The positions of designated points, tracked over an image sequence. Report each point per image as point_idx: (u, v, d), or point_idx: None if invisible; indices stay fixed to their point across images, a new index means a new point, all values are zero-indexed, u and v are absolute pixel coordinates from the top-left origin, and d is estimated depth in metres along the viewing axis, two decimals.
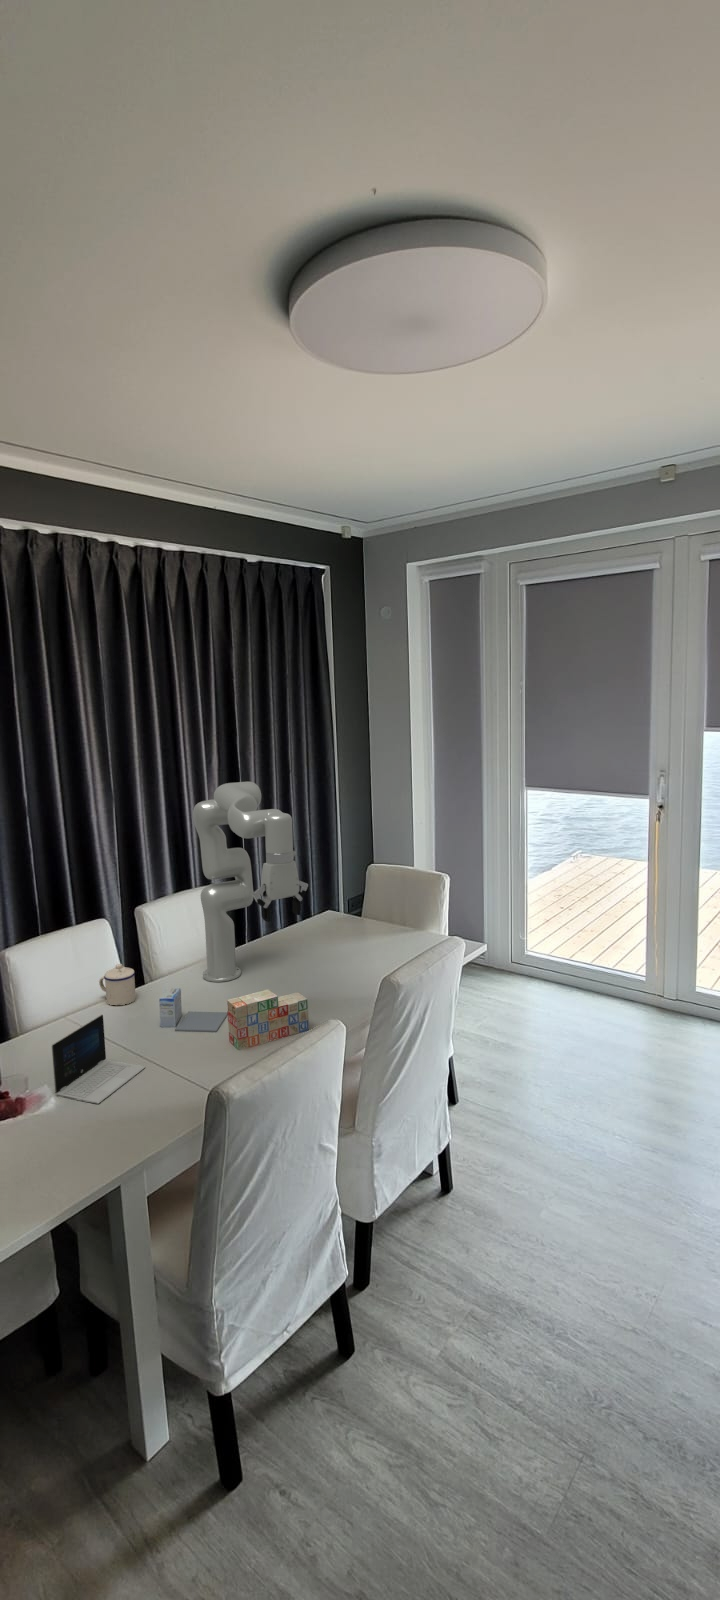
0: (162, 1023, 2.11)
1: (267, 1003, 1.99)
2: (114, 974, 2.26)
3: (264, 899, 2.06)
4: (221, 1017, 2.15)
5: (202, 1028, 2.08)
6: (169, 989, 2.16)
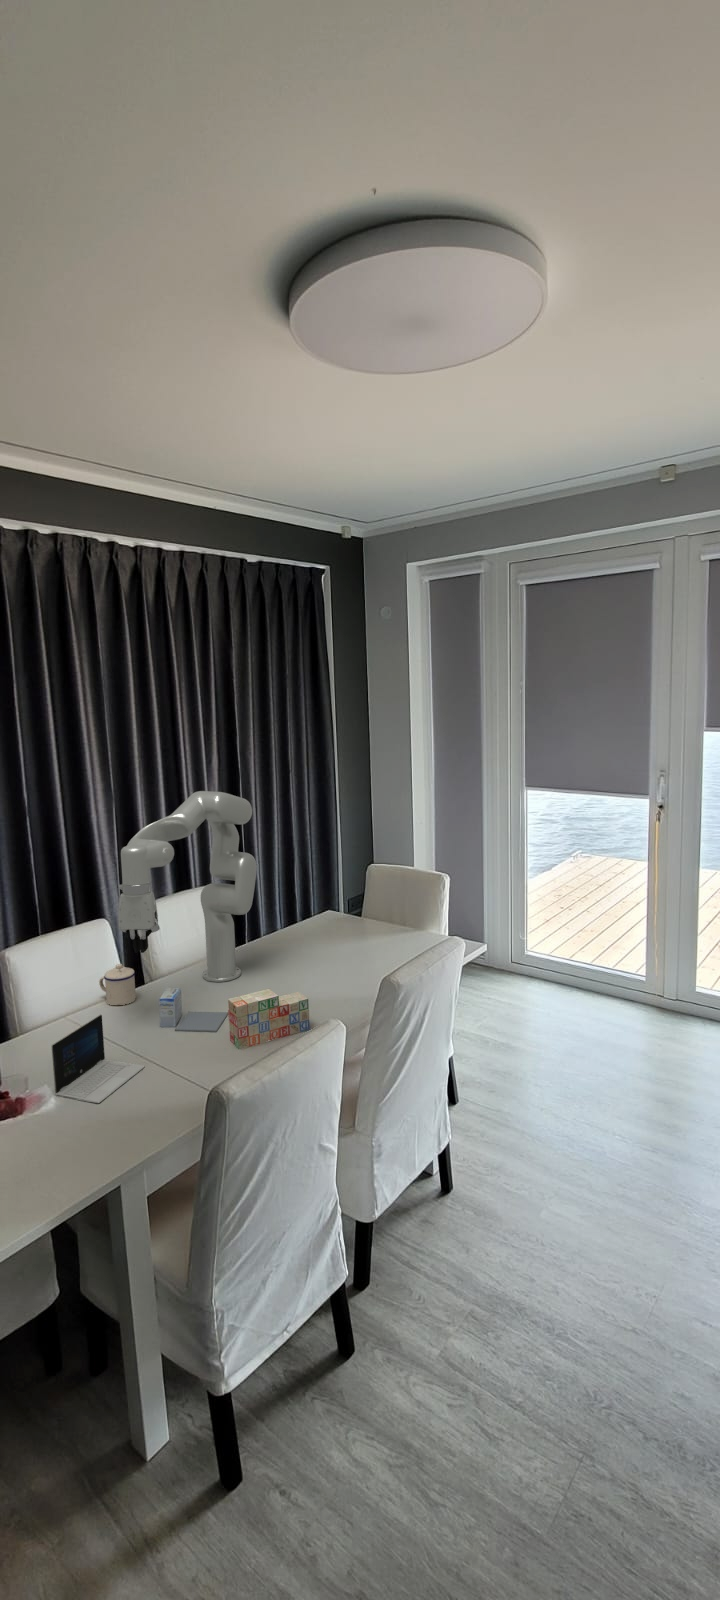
0: (162, 1023, 2.11)
1: (267, 1002, 2.00)
2: (114, 974, 2.26)
3: None
4: (221, 1017, 2.15)
5: (202, 1028, 2.08)
6: (169, 989, 2.16)
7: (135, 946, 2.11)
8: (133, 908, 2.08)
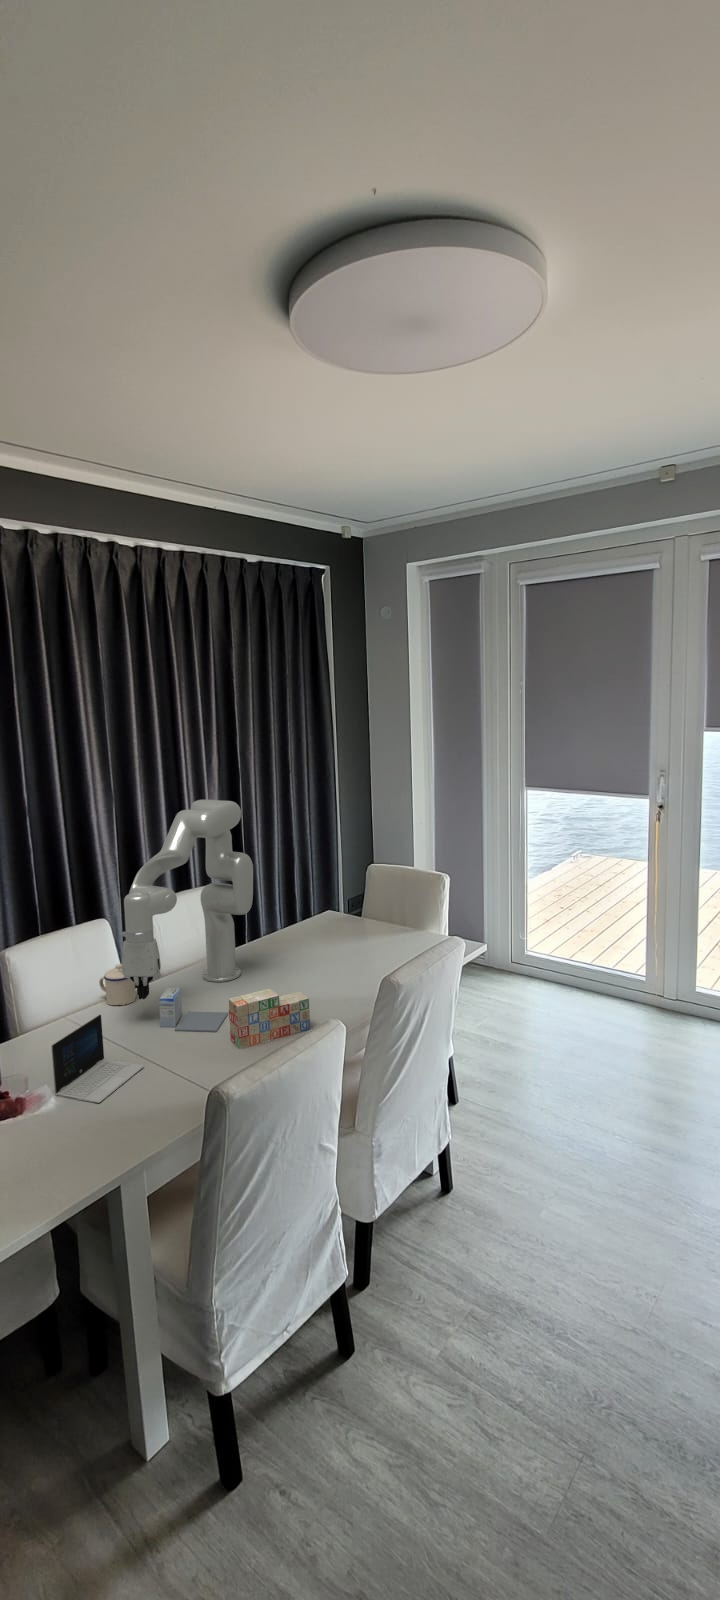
0: (162, 1023, 2.11)
1: (268, 1002, 2.00)
2: (114, 974, 2.26)
3: None
4: (221, 1017, 2.15)
5: (202, 1028, 2.08)
6: (169, 989, 2.16)
7: (139, 992, 2.12)
8: (136, 956, 2.10)
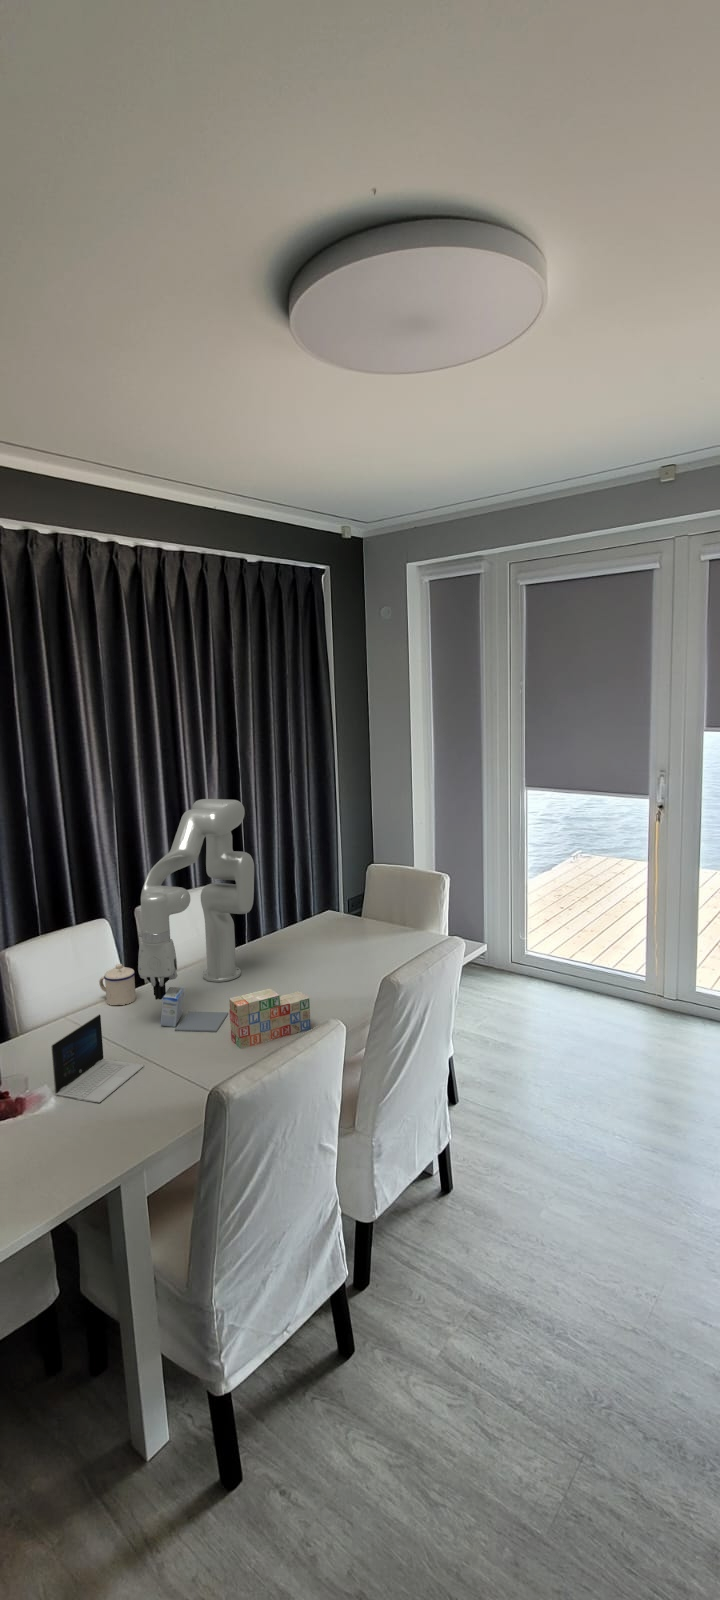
0: (163, 1021, 2.11)
1: (269, 1002, 2.00)
2: (114, 974, 2.26)
3: None
4: (221, 1017, 2.15)
5: (202, 1028, 2.08)
6: (173, 988, 2.16)
7: (156, 993, 2.12)
8: (153, 956, 2.09)
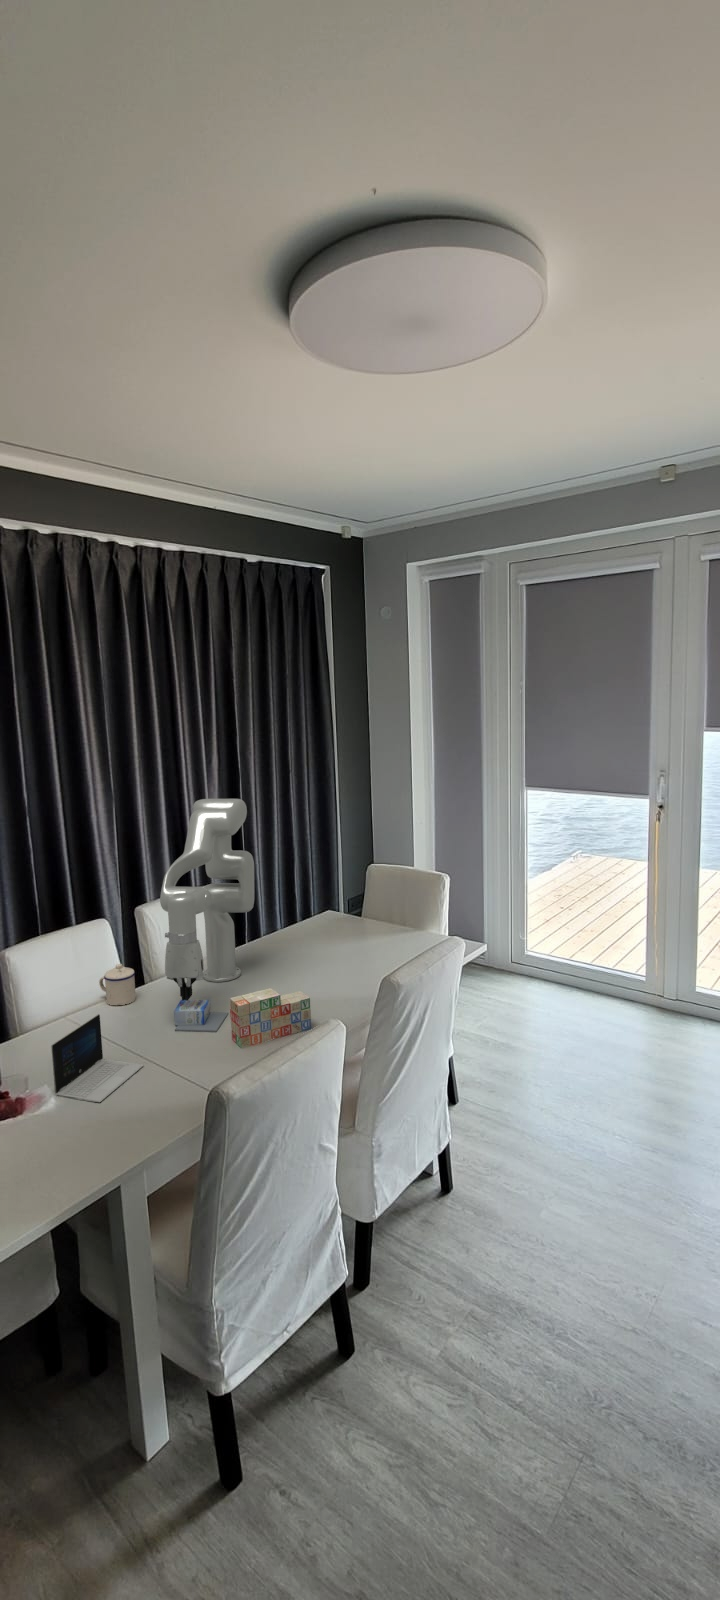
0: (178, 1012, 2.10)
1: (269, 1001, 2.00)
2: (114, 974, 2.26)
3: None
4: (221, 1017, 2.15)
5: (202, 1028, 2.08)
6: (209, 1005, 2.17)
7: (183, 994, 2.11)
8: (180, 957, 2.08)
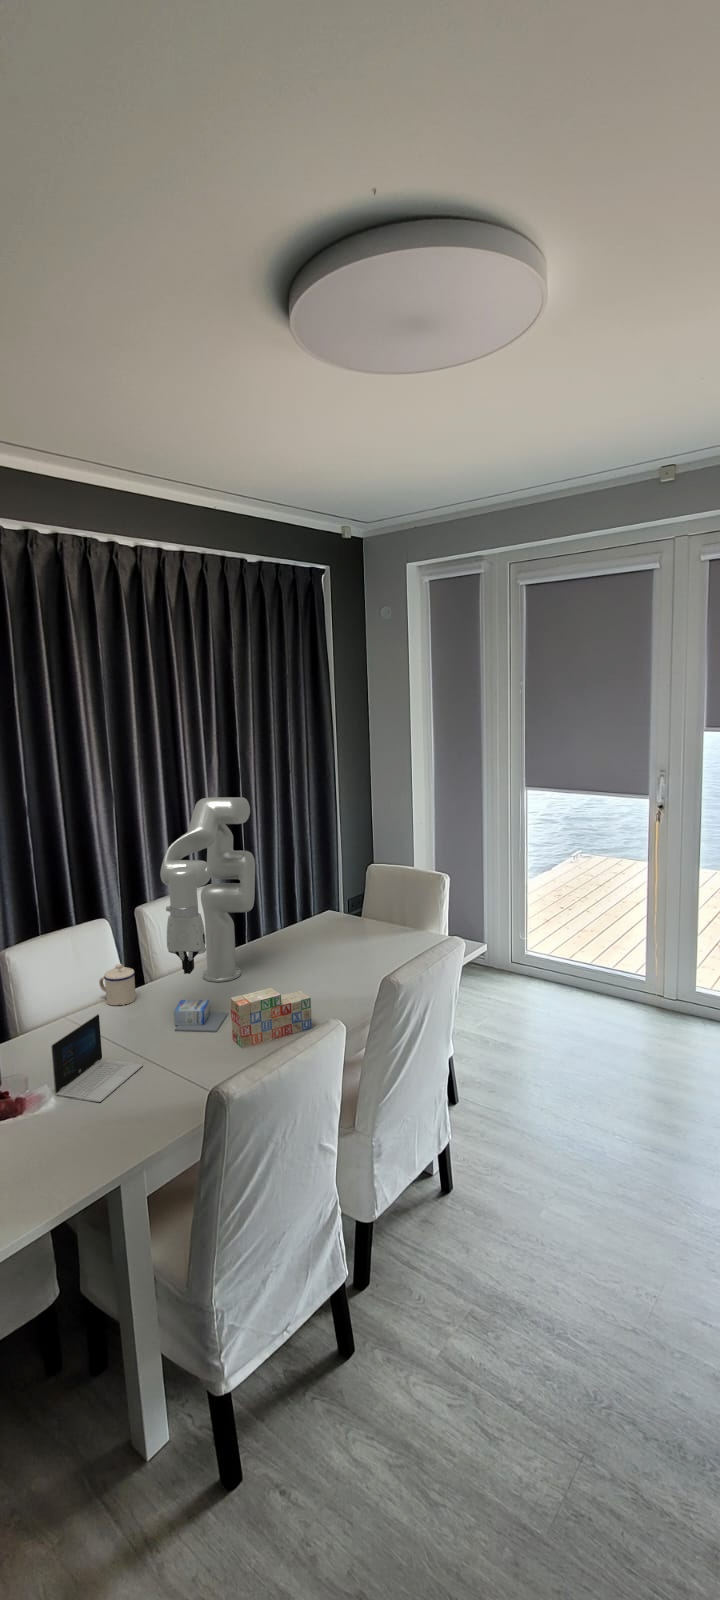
0: (178, 1012, 2.10)
1: (270, 1001, 2.01)
2: (114, 974, 2.26)
3: None
4: (221, 1017, 2.15)
5: (202, 1028, 2.08)
6: (209, 1005, 2.17)
7: (185, 967, 2.11)
8: (181, 930, 2.08)
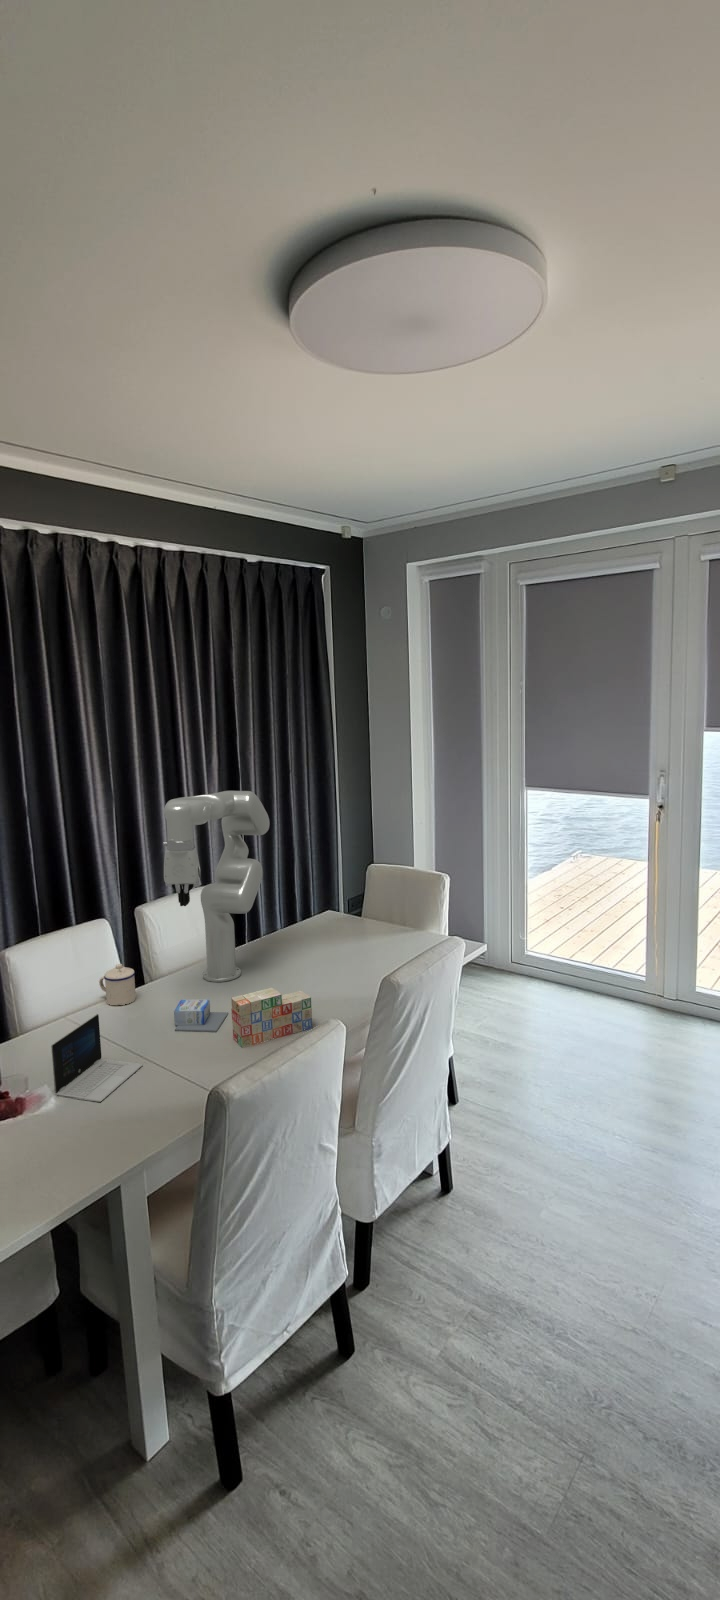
0: (178, 1012, 2.10)
1: (270, 1001, 2.01)
2: (114, 974, 2.26)
3: None
4: (221, 1017, 2.15)
5: (202, 1028, 2.08)
6: (209, 1005, 2.17)
7: (181, 900, 2.22)
8: (178, 863, 2.19)
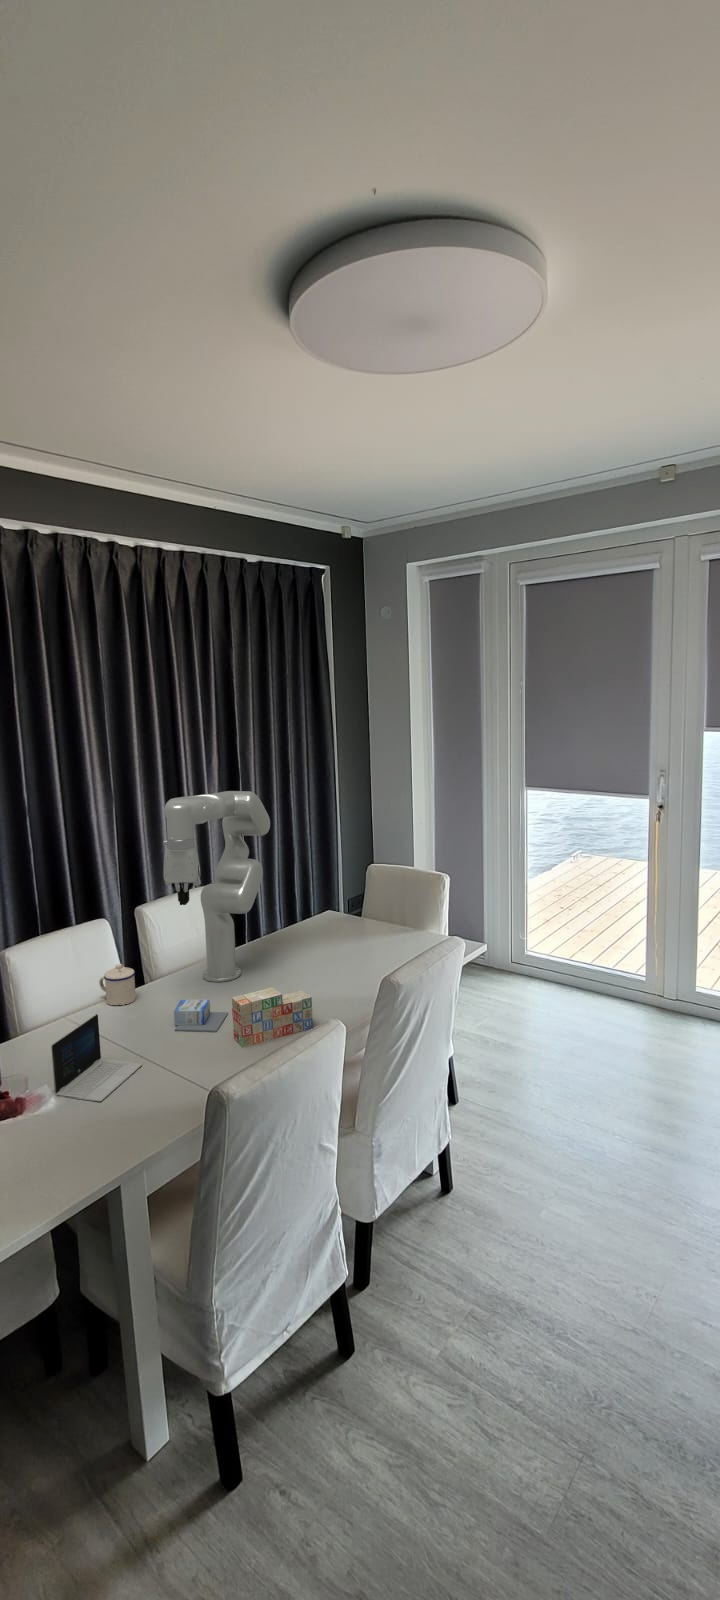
0: (178, 1012, 2.10)
1: (271, 1001, 2.01)
2: (114, 974, 2.26)
3: None
4: (221, 1017, 2.15)
5: (202, 1028, 2.08)
6: (209, 1005, 2.17)
7: (180, 898, 2.22)
8: (177, 862, 2.19)
